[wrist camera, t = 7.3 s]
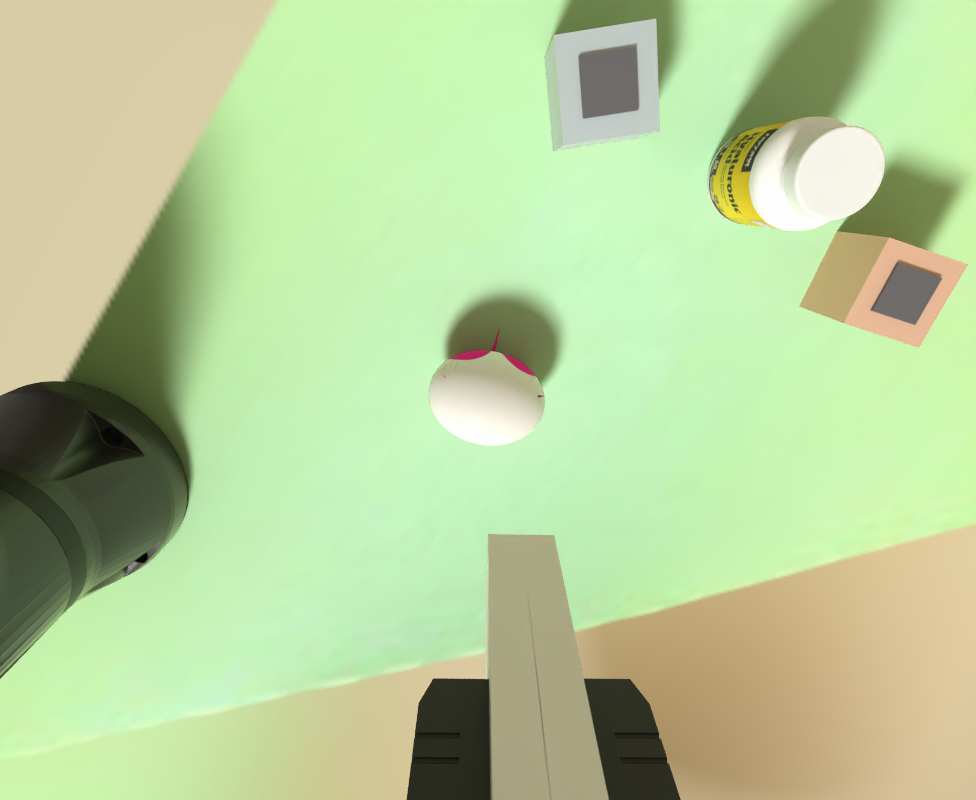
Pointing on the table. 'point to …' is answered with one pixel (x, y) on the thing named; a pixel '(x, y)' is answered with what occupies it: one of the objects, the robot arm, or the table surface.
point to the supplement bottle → (795, 173)
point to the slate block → (603, 84)
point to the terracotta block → (882, 285)
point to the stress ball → (486, 397)
